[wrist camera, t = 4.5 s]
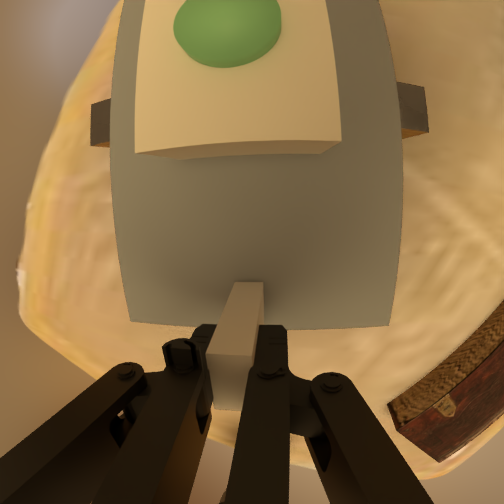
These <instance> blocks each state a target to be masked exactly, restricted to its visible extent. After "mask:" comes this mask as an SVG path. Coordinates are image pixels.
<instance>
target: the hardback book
mask: <svg viewBox="0 0 504 504" xmlns="http://www.w3.org/2000/svg"><path fill="white" fill-rule="evenodd" d="M387 406H388V408H389V411H390V414H391V417H392V419H393V422H394V425H395V428H396V431H398V432H399V433H400V434H402V435H403V436H404V437H405V438H407V439H408V440H409V441H411V442H412V443H413V444H415V445H416V446H417V447H418V448H420V449H421V450H422V451H424V452H425V453H426V454H428V455H429V456H430V457H432V458H433V459H435V460H436V461H437V462H439V463H440V462H442V461H443V460H445V459H446V458H448V457H449V456H451V455H452V454H454V453H455V452H457V451H458V450H459V449H461V448H462V447H464V446H465V445H466V444H468V443H469V442H470V441H472V440H473V439H474V438H476V437H477V436H478V435H479V434H481V433H482V432H483V431H484V430H485V429H487V428H488V427H489V426H490V425H491V424H493V423H494V422H495V421H496V420H497V419H498V418H499V417H500V416H502V415H503V414H504V300H503V302H502V303H501V304H500V305H499V306H498V307H497V309H496V310H495V311H494V312H493V313H492V314H491V315H490V316H489V318H488V319H487V320H486V321H485V322H484V323H483V324H482V325H481V326H480V327H479V328H478V329H477V330H476V331H475V332H474V333H473V334H472V335H471V336H470V337H469V338H468V339H467V340H466V341H465V342H464V343H463V344H462V345H461V346H460V347H459V348H458V349H457V350H456V351H454V352H453V353H452V354H451V355H450V356H449V357H448V358H447V359H445V360H444V361H443V362H442V363H441V364H440V365H438V366H437V367H436V368H435V369H434V370H432V371H431V372H430V373H429V374H428V375H426V376H425V377H424V378H423V379H421V380H420V381H419V382H417V383H416V384H415V385H413V386H412V387H411V388H409V389H408V390H407V391H405V392H404V393H402V394H401V395H400V396H398V397H397V398H395V399H394V400H392V401H391V402H389V403H388V404H387Z"/></svg>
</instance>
